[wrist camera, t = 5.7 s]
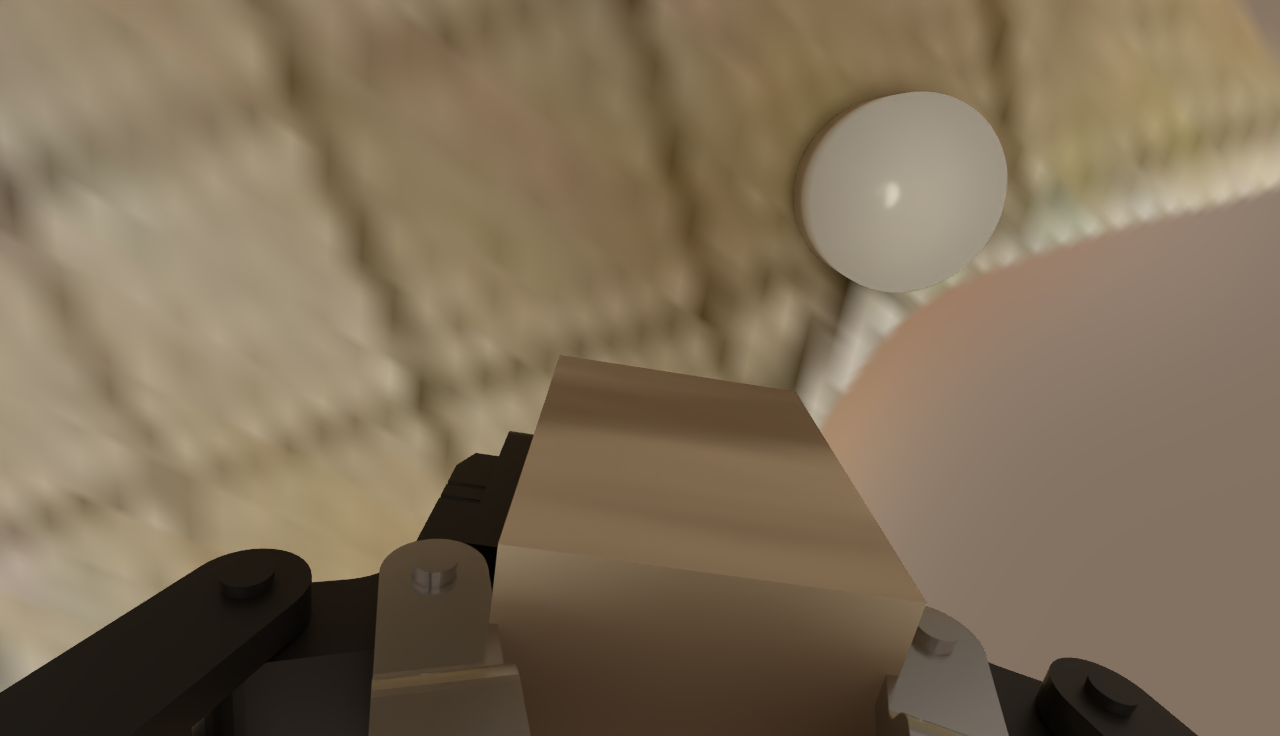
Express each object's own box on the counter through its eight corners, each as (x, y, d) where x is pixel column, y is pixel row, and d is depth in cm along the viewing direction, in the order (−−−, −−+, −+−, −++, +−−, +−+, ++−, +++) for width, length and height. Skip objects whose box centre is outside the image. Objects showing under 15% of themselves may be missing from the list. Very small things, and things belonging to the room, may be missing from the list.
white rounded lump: (817, 81, 29) (840, 73, 26) (991, 115, 30) (1036, 111, 26) (774, 261, 32) (790, 275, 28) (935, 290, 32) (969, 306, 29)
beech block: (560, 355, 12) (497, 543, 7) (795, 391, 13) (926, 602, 7) (532, 557, 14) (463, 852, 8) (744, 586, 14) (817, 890, 8)
